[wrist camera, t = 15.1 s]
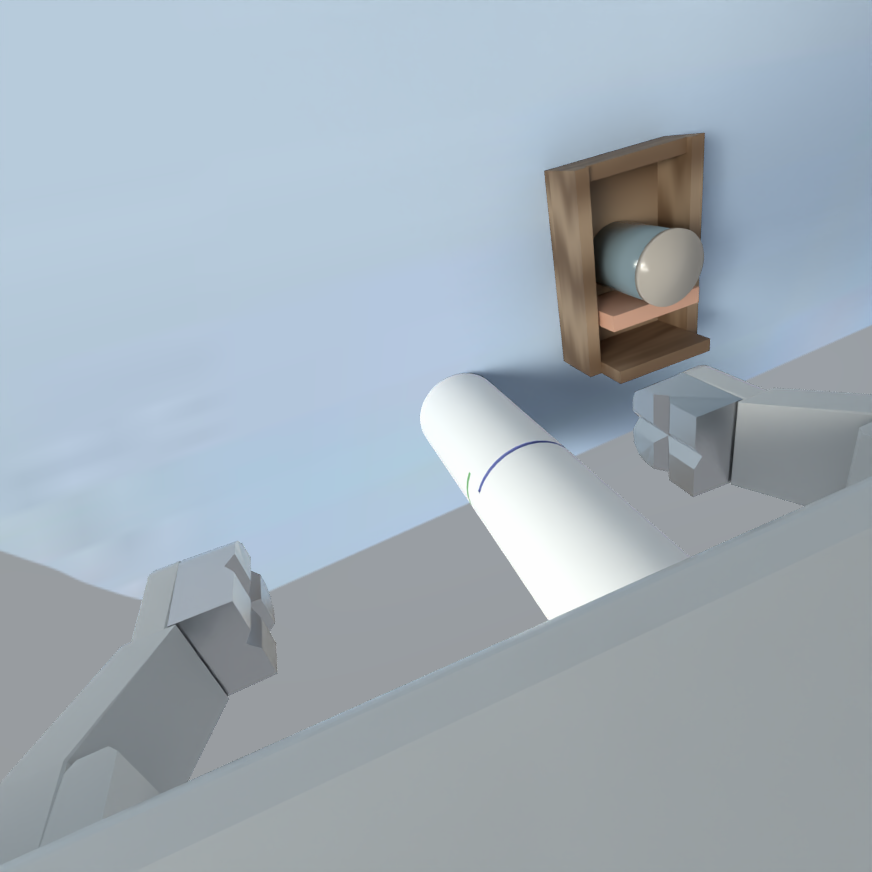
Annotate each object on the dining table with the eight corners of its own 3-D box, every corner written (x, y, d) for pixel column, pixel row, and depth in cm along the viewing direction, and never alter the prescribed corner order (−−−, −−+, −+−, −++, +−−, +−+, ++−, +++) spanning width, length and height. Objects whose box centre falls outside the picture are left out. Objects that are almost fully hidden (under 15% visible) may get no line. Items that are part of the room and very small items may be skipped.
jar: (584, 229, 39) (639, 239, 34) (643, 211, 40) (706, 219, 34) (587, 295, 42) (639, 315, 36) (642, 278, 43) (700, 295, 37)
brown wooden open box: (544, 170, 37) (597, 170, 31) (663, 136, 39) (734, 130, 33) (563, 361, 44) (609, 388, 39) (662, 325, 46) (720, 346, 40)
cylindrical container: (513, 387, 44) (757, 586, 23) (477, 459, 46) (670, 701, 25) (441, 361, 41) (648, 563, 20) (406, 439, 43) (559, 697, 22)
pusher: (577, 302, 41) (613, 316, 37) (656, 275, 43) (699, 286, 39) (578, 316, 42) (613, 332, 38) (656, 290, 43) (698, 302, 39)
